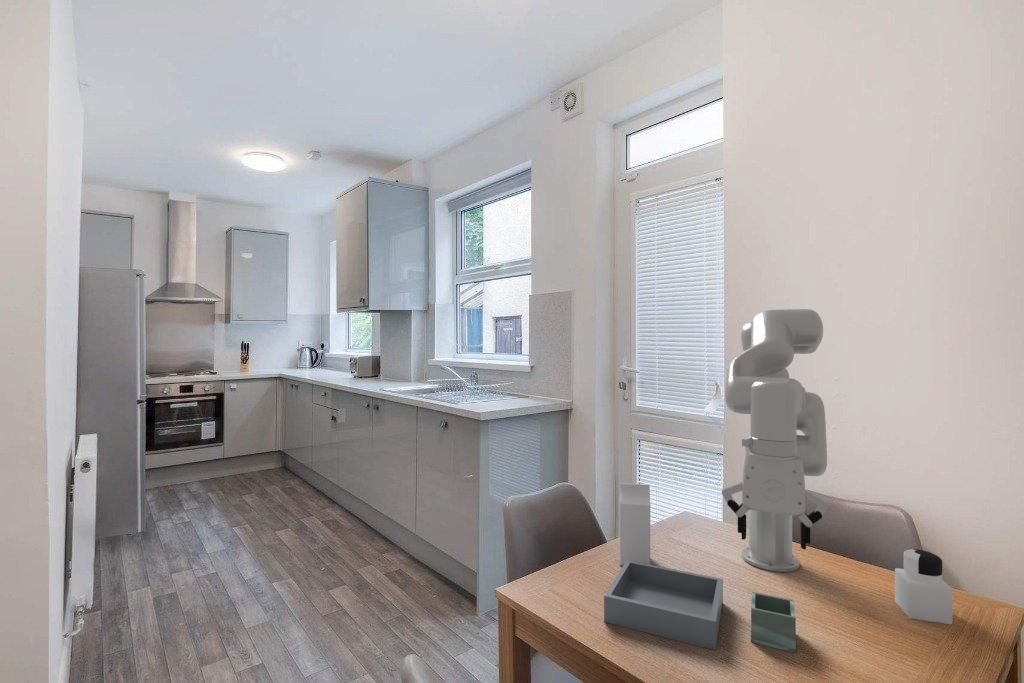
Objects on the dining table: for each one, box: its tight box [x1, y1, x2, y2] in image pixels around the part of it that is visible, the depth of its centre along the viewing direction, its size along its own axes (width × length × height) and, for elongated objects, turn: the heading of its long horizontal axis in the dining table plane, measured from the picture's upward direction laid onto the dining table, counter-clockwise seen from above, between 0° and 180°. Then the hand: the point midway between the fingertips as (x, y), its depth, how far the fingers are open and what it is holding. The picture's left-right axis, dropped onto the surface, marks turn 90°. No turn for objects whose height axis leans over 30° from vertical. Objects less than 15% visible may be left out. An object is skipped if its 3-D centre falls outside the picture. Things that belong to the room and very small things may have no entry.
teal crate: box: [750, 591, 797, 654], centre depth 92 cm, size 7×7×6 cm
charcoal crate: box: [603, 560, 724, 651], centre depth 101 cm, size 18×20×5 cm
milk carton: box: [619, 482, 651, 566], centre depth 125 cm, size 7×7×19 cm
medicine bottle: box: [894, 548, 953, 626], centre depth 101 cm, size 7×7×12 cm
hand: (772, 541), depth 92 cm, fingers open, 9 cm apart
